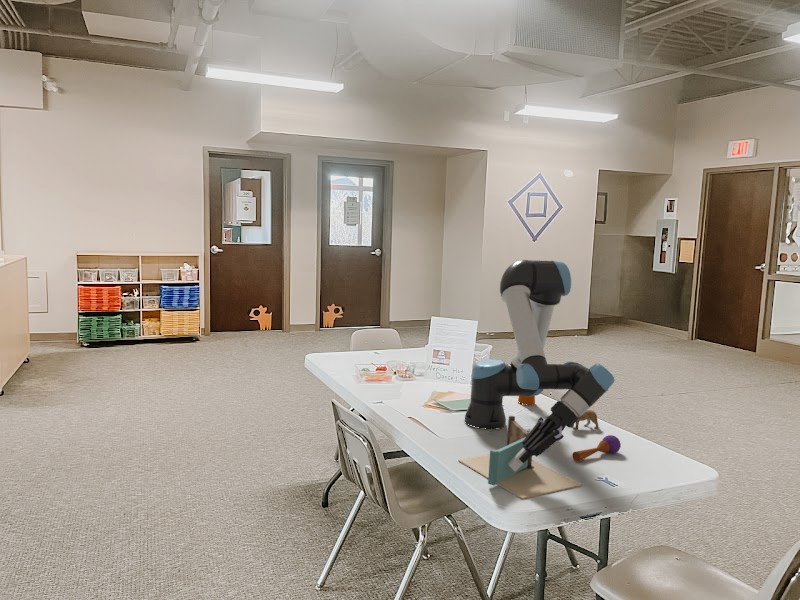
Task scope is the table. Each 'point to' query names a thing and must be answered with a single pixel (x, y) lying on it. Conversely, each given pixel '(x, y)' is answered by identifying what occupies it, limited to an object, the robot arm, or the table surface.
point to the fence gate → (504, 462)
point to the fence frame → (516, 434)
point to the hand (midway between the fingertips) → (511, 467)
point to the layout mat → (525, 478)
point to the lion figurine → (589, 416)
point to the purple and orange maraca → (599, 448)
